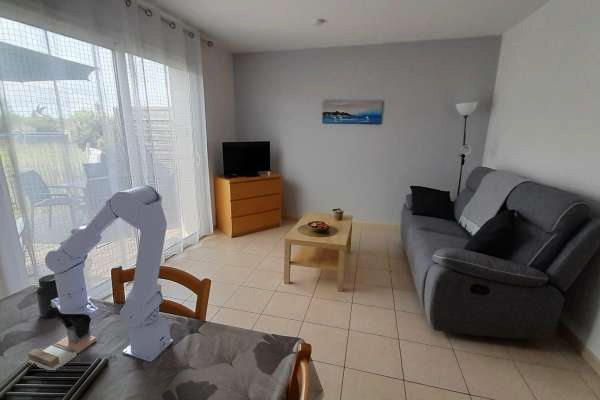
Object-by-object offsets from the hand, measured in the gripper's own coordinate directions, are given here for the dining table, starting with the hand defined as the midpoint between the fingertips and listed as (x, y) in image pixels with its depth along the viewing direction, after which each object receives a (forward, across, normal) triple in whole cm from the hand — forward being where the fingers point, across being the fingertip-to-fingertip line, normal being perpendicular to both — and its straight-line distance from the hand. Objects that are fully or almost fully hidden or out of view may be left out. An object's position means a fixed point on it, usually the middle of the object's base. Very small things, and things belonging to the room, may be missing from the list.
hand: (79, 334), depth 75 cm
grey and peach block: (+2, 0, +1) cm, 2 cm away
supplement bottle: (+3, +20, -6) cm, 21 cm away
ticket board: (+2, 0, +6) cm, 7 cm away
